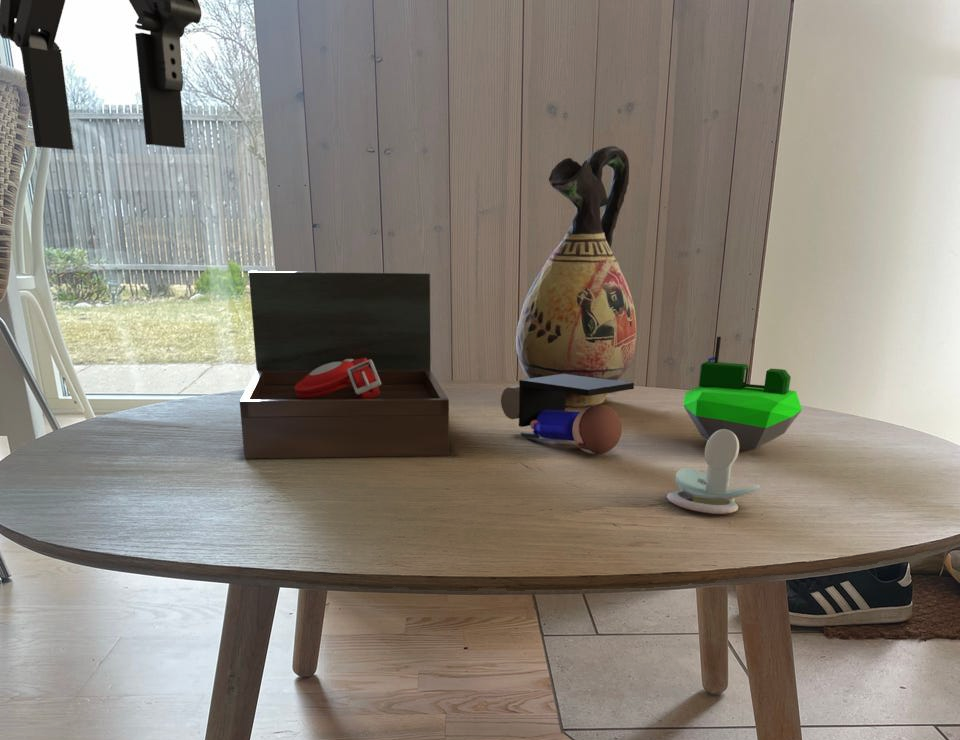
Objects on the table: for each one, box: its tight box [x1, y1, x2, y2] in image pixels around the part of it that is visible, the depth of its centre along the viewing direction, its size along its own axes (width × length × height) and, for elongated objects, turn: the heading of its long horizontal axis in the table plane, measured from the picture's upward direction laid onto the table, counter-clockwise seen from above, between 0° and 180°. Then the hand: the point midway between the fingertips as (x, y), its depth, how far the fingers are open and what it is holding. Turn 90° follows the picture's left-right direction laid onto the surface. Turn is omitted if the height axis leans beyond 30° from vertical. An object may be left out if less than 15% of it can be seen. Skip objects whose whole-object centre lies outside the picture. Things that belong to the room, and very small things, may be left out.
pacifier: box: [667, 429, 761, 515], centre depth 76 cm, size 7×6×6 cm
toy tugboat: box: [682, 336, 803, 453], centre depth 96 cm, size 12×12×11 cm
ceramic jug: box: [515, 145, 638, 408], centre depth 117 cm, size 17×15×30 cm
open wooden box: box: [239, 270, 450, 460], centre depth 97 cm, size 21×20×16 cm
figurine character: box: [500, 374, 635, 455], centre depth 97 cm, size 7×8×15 cm
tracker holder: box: [294, 358, 381, 399], centre depth 99 cm, size 12×4×10 cm
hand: (107, 148), depth 68 cm, fingers open, 13 cm apart
